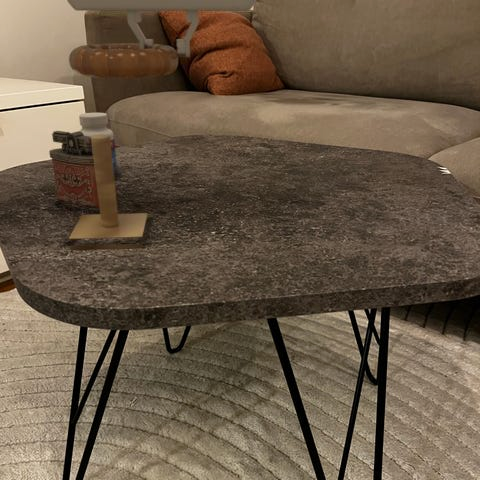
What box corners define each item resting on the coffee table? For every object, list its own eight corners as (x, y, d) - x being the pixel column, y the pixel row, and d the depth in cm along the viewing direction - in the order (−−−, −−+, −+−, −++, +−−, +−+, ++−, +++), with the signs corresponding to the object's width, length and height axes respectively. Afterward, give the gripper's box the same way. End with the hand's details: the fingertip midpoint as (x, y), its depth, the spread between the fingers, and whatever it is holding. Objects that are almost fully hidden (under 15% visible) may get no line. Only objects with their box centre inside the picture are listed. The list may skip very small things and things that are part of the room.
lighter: (115, 211, 77) (106, 133, 73) (97, 218, 75) (87, 137, 70) (70, 202, 81) (59, 126, 76) (51, 209, 78) (39, 131, 74)
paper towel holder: (70, 250, 65) (54, 144, 60) (82, 226, 72) (69, 129, 67) (143, 248, 66) (134, 143, 60) (148, 224, 73) (140, 128, 67)
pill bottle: (111, 186, 88) (103, 118, 83) (76, 185, 88) (67, 117, 84) (123, 177, 92) (116, 111, 88) (90, 175, 93) (82, 111, 89)
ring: (63, 79, 62) (59, 50, 60) (81, 67, 72) (78, 42, 71) (178, 79, 63) (177, 50, 61) (179, 67, 73) (178, 42, 72)
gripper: (48, -97, 57) (67, 59, 63) (259, -94, 58) (256, 59, 65) (60, -89, 62) (77, 54, 69) (253, -86, 64) (251, 54, 70)
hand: (165, 56), depth 67 cm, fingers closed on ring, 3 cm apart
